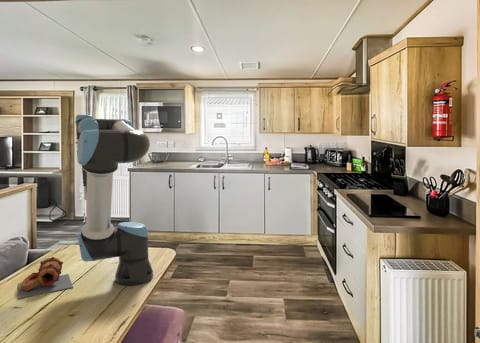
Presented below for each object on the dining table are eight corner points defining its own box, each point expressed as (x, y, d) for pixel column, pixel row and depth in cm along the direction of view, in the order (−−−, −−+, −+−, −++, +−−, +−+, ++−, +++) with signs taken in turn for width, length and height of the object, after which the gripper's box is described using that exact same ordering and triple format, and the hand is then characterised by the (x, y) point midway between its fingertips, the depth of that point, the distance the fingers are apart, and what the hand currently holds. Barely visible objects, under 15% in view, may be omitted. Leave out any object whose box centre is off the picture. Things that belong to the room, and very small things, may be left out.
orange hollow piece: (60, 251, 148) (55, 265, 134) (67, 268, 150) (64, 283, 136) (22, 266, 144) (14, 282, 130) (31, 283, 146) (23, 300, 132)
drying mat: (73, 288, 137) (72, 286, 137) (18, 299, 127) (18, 297, 127) (68, 275, 150) (68, 273, 149) (18, 284, 140) (18, 283, 140)
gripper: (74, 148, 165) (77, 198, 168) (79, 149, 154) (81, 202, 157) (92, 148, 169) (93, 196, 172) (97, 149, 158) (99, 200, 161)
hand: (87, 199), depth 164 cm, fingers closed
